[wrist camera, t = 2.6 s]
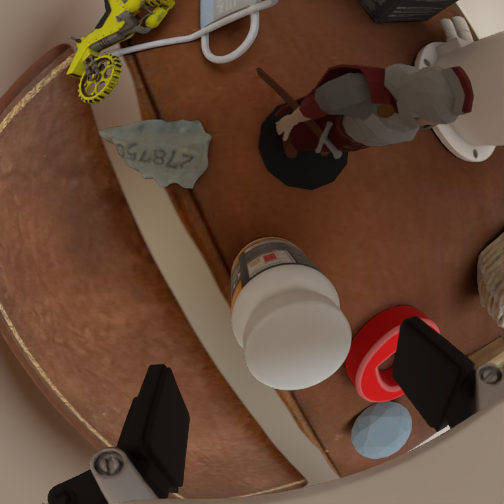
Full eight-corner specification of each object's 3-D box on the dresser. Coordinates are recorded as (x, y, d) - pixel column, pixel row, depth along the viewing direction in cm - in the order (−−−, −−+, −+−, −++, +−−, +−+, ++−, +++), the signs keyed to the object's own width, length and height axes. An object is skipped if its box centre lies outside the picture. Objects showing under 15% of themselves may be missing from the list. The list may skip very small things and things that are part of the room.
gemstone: (407, 439, 24) (418, 446, 20) (353, 458, 25) (356, 469, 21) (398, 390, 28) (408, 391, 24) (343, 409, 29) (346, 413, 25)
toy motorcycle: (204, -15, 12) (142, -17, 12) (184, -43, 8) (119, -36, 8) (119, 113, 15) (71, 94, 16) (81, 103, 12) (38, 86, 12)
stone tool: (220, 122, 16) (199, 196, 17) (219, 128, 18) (201, 194, 19) (101, 103, 14) (83, 172, 15) (110, 108, 16) (93, 172, 17)
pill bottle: (218, 254, 19) (204, 323, 10) (291, 222, 19) (346, 264, 10) (249, 318, 21) (260, 412, 11) (316, 289, 21) (371, 367, 11)
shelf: (463, 358, 25) (522, 417, 12) (501, 335, 26) (555, 379, 12) (440, 414, 28) (480, 469, 15) (479, 390, 29) (519, 435, 15)
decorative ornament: (343, 323, 22) (357, 342, 19) (430, 293, 22) (449, 306, 19) (345, 396, 24) (354, 416, 21) (420, 366, 24) (433, 381, 21)
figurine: (264, 194, 19) (363, 245, 4) (250, 95, 17) (290, -70, 2) (352, 186, 19) (535, 216, 4) (339, 93, 17) (485, 1, 2)
